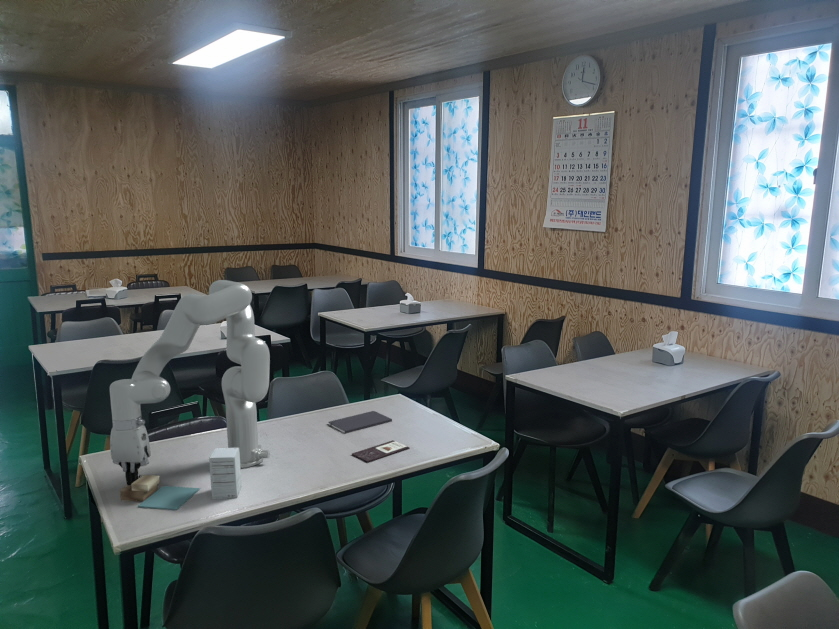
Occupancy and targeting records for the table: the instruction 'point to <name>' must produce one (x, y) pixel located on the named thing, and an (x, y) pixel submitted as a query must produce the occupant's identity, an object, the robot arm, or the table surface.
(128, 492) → the walnut block
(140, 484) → the birch block
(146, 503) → the rubber mat
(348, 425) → the notebook
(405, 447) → the chocolate bar
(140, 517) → the table surface
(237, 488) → the supplement box
